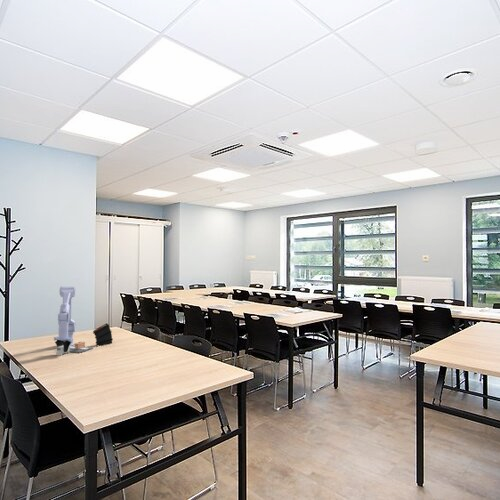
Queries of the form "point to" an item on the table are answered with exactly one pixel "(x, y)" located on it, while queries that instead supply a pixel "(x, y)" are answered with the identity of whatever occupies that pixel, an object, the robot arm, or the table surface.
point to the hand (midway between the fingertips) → (63, 351)
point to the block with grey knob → (79, 345)
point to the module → (61, 350)
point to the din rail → (72, 349)
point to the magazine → (103, 335)
